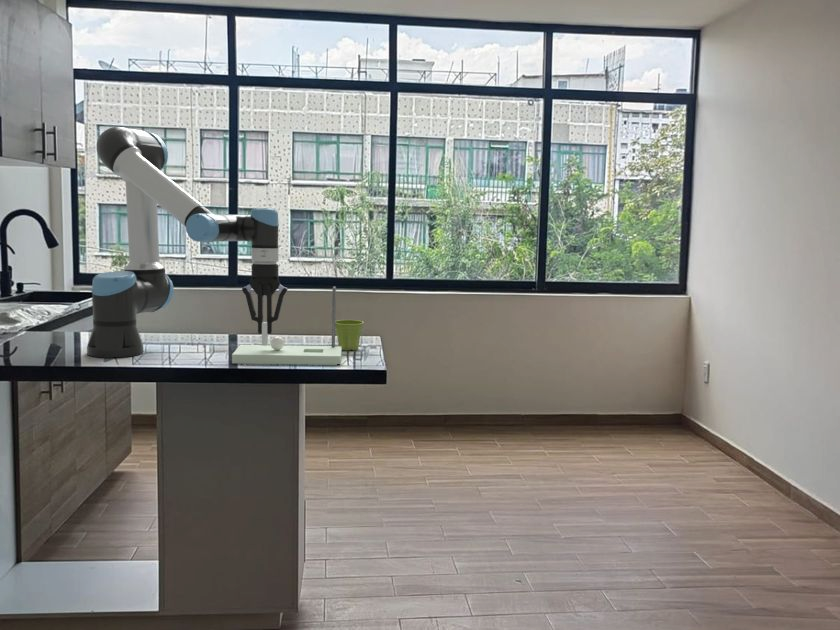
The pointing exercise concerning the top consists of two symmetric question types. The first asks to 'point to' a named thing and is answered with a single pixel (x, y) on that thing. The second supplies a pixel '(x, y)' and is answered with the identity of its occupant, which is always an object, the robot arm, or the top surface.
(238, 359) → the green
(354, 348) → the plant pot
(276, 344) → the ball
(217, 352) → the top surface
